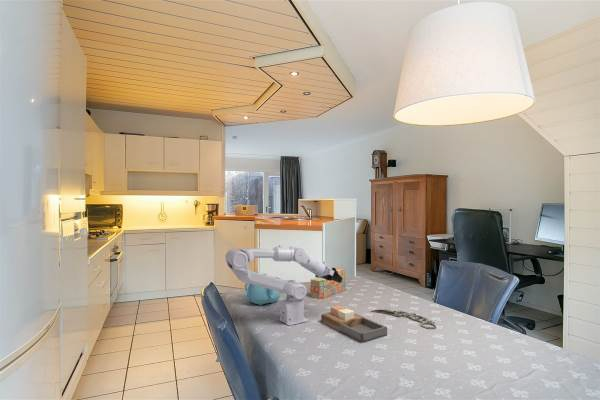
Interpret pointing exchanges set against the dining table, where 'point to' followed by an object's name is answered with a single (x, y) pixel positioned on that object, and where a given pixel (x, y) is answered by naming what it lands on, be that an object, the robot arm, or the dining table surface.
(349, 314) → the cream tile
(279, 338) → the dining table surface
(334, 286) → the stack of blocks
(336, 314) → the salmon cube
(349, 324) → the wooden square board
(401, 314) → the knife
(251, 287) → the decorative pot
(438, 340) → the dining table surface
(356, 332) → the gray box
